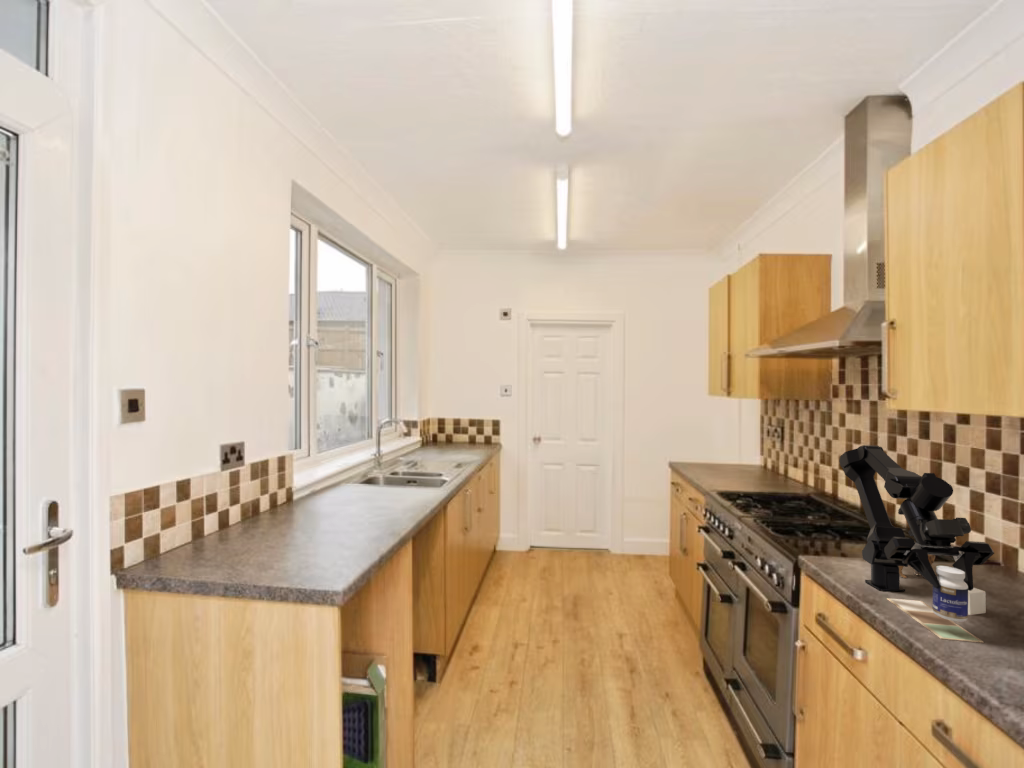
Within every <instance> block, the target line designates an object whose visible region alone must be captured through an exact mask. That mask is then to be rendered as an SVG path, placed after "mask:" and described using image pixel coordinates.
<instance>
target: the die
mask: <svg viewBox="0 0 1024 768" xmlns="http://www.w3.org/2000/svg"><path fill="white" fill-rule="evenodd" d="M986 597H987V595H986V590H982V589H979V588H976V587H973V590H971V591H969V590H968V616H973V615H980V614H981V615H982V614H986V609H987V608H986V607H987V606H986V604H987V603H986Z"/></svg>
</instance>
